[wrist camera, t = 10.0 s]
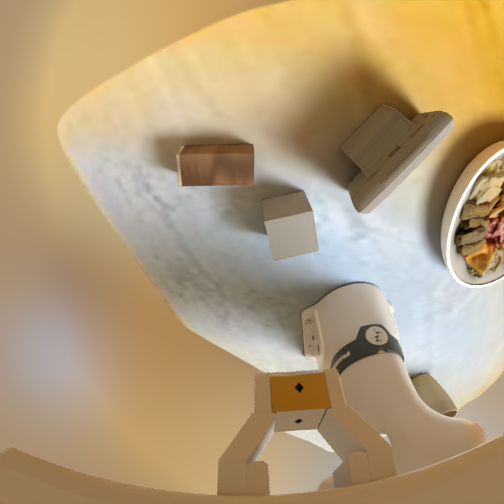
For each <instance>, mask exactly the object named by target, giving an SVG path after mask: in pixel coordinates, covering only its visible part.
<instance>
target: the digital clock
mask: <svg viewBox="0 0 504 504" xmlns="http://www.w3.org/2000/svg"><path fill="white" fill-rule="evenodd" d="M452 129H453V118H452V116H451V115H449V114H448V113H446V112H443V111H433V112H427V113H426V112H425V113H421V114H417V115H416V116H415V117H413V118H412V119H411V120H409V119H407V118H406V117H405V116H404V115H403V114H402V113H401V112H400V111H399V110H397V109H395V108H393V107H391V106H388V105H386V104H382V105H381V106H380V107H379V108H378V109H377V110H376V111H375V112H374V113H373V114H372V115H371V116H370V117H369V118H368V119H367V120H366V121H365V122H364V123H363V124H362V125H361V126H360V127H359V128H358V129H357V130H356V131H355V132H354V133H353V134H352V135H351V136H350V137H349V138H348V139H347V140H346V141H345V142H344V143H343V144H342V145H341V146H340V149H341V150H342V151H343V152H344V153H345V154H346V155H347V156H348V157H349V158H350V159H351V160H352V161H353V162H354V163H355V164H356V165H357V166H358V167H359V168H360V169H361V171H360V172H359V173H358V174H357V175H356V176H355V177H354V178H353V179H352V180H351V181H350V182H349V184H348V191H349V194H350V197H351V200H352V203H353V205H354V207H355V209H356V210H357V211H358V212H359V213H370V212H371V211H372V210H374V209H375V208H376V207H377V206H378V205H379V204H380V203H381V202H382V201H383V200H384V199H385V198H386V197H387V196H388V195H389V194H390V193H391V192H392V191H393V190H394V189H395V188H396V187H397V186H398V185H399V184H400V183H401V182H402V181H403V180H404V179H406V178H407V177H408V176H409V174H410V173H411V172H412V171H413V170H414V169H415V168H416V167H417V166H418V165H419V164H420V163H421V162H422V161H423V160H424V159H425V158H426V157H427V156H428V155H429V154H430V153H431V152H432V151H433V150H434V149H435V148H436V147H437V146H438V145H439V144H440V143H441V142H442V141H443V140H444V138H445V137H446V136H447V135H448V134H449V133H450V132H451V131H452Z"/></svg>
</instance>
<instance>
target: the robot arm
mask: <svg viewBox="0 0 504 504" xmlns="http://www.w3.org/2000/svg"><path fill="white" fill-rule="evenodd" d="M394 312H395V309H394V306H393V304H391V303H390V302H388V301H387V300H386V298H385V295H384V293H383V292H382V290H381V289H380V288H378V287H376V286H374V285H372V284H367V283H355V284H349V285H346V286H343V287H340V288H338V289H336V290H334V291H332V292H331V293H329V294H328V295H326V296H325V297H324V298H323V299H322V300H321V301H320V302H318V303H317V304H315V305H313V306H311V307H309V308H307V309H305V310H304V311H303V312H302V314H301V316H302V328H303V340H304V353H305V357H306V359H308V360H311V361H316V362H317V363H318V367H319V370H309V371H296V372H277V373H269V372H268V373H255V383H254V408H255V413H252V414H251V415H250V417H249V418H248V420H247V421H246V423H245V424H244V426H243V427H242V429H241V430H240V431H239V433H238V434H237V436H236V437H235V438H234V440H233V441H232V442H231V444H230V445H229V447H228V448H227V449H226V451H225V452H224V453H223V455H222V456H221V458H220V459H219V462H218V490H217V495H204V494H191V493H181V492H173V491H165V490H158V489H151V488H145V487H139V486H134V485H129V484H124V483H119V482H115V481H110V480H106V479H102V478H98V477H95V476H91V475H87V474H83V473H80V472H77V471H74V470H71V469H67V468H64V467H61V466H58V465H55V464H53V463H50V462H47V461H44V460H42V459H39V458H37V457H34V456H32V455H29V454H27V453H24V452H22V451H20V450H17V449H15V448H8V449H6V450H4V451H3V452H1V453H0V504H504V434H502V435H500V436H498V437H496V438H494V439H492V440H490V441H489V440H488V438H487V435H486V434H485V432H484V431H483V429H482V428H481V427H480V426H479V425H477V424H476V423H474V422H472V421H470V420H467V419H463V418H453V417H448V416H445V415H442V414H440V413H438V412H436V411H434V410H433V409H431V408H430V407H429V406H427V405H426V404H425V403H424V402H423V401H422V399H421V398H420V397H419V395H418V394H417V392H416V390H415V388H414V386H413V384H412V382H411V379H410V377H409V375H408V373H407V370H406V368H405V365H404V356H403V351H402V349H401V346H400V345H399V343H398V340H399V338H400V336H399V333H398V329H397V326H396V323H395V320H394V317H393V313H394ZM311 429H318V431H319V433H320V434H321V435H322V436H323V437H324V439H325V440H326V441H327V442H328V444H329V445H330V446H331V447H332V448H333V450H334V451H335V452H336V453H337V454H338V456H339V457H340V458H341V459H342V460H343V462H342V464H341V465H340V466H339V467H338V468H337V469H336V470H335V471H334V472H333V475H332V476H330V477H328V478H326V479H325V480H323V481H322V482H321V484H320V485H319V488H318V490H317V491H314V492H305V493H294V494H281V495H270V491H269V475H268V464H267V463H265V462H264V461H257V460H258V458H259V456H260V455H261V453H262V451H263V450H264V448H265V447H266V445H267V443H268V441H269V440H270V438H271V436H272V435H273V432H283V431H295V430H311ZM379 434H387V436H388V438H389V440H390V442H391V447H390V444H389V443H388V442H387V441H386V440H384V439H383V438H382V437H381V436H380V435H379Z"/></svg>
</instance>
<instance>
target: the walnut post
mask: <svg viewBox="0 0 504 504" xmlns="http://www.w3.org/2000/svg"><path fill="white" fill-rule="evenodd" d="M176 160H177V173H178V185H179V186H213V185H254V148H253V145H245V144H230V145H187V146H181V148H180V150H179V151H178V153H177V154H176Z"/></svg>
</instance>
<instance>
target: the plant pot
mask: <svg viewBox="0 0 504 504" xmlns="http://www.w3.org/2000/svg"><path fill="white" fill-rule="evenodd" d="M411 382H412V384H413V386H414V388H415V390H416V392H417V394H418V395H419V397H420V398H421V399H422V401H423V402H424V403H425V404H426V405H427V406H429V407H430V408H431V409H433V410H434V411H436V412H438V413H440V414H442V415H445V416H448V417H453V418H454V417H455V416H456V415H457V413H458V410H457V408H456V406H455V405H454V403H453V401H452V400H451V398H450V397H449V396H448V394H447V393H446V392H445V390H444V389H443V388H442V387H441V386H440V385H439V383H438V382H437V381H436V380H435V379H434V378H433V377H432V376H430V375H429V374H428V373H423V374H420V375H418V376H416V377H414V378H413V379H411Z"/></svg>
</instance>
